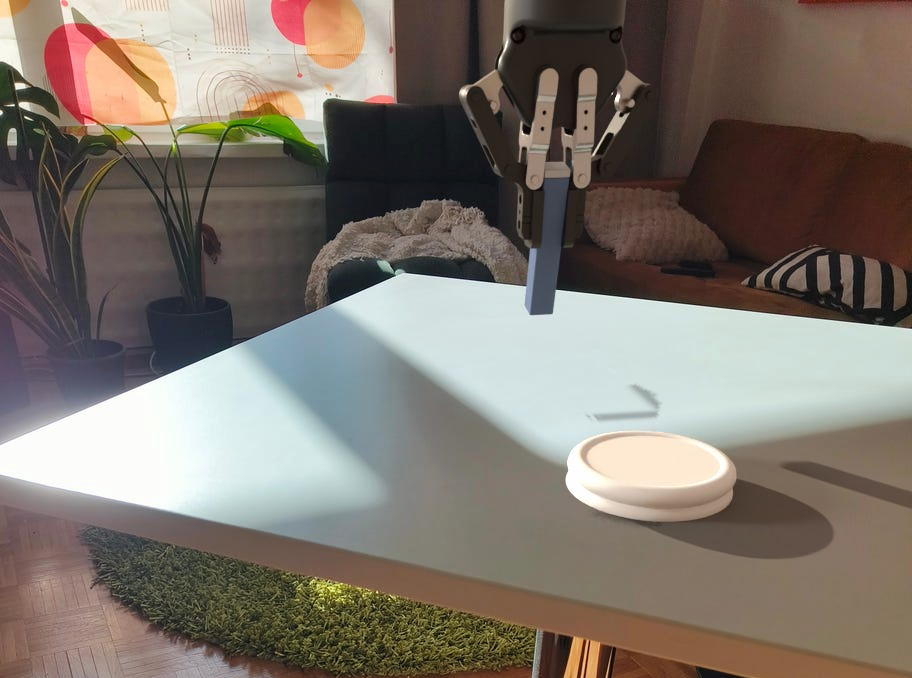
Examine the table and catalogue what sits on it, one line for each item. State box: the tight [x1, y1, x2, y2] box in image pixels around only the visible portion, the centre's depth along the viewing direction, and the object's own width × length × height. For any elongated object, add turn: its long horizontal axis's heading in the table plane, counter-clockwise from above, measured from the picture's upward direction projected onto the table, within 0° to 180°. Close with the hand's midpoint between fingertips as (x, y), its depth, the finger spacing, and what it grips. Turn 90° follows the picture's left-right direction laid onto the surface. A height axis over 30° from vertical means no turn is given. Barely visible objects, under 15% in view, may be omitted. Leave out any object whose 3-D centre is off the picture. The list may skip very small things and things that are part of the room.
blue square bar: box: [524, 161, 571, 316], centre depth 64 cm, size 2×2×10 cm
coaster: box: [565, 430, 738, 523], centre depth 54 cm, size 10×10×4 cm
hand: (548, 245), depth 63 cm, fingers closed on blue square bar, 2 cm apart
